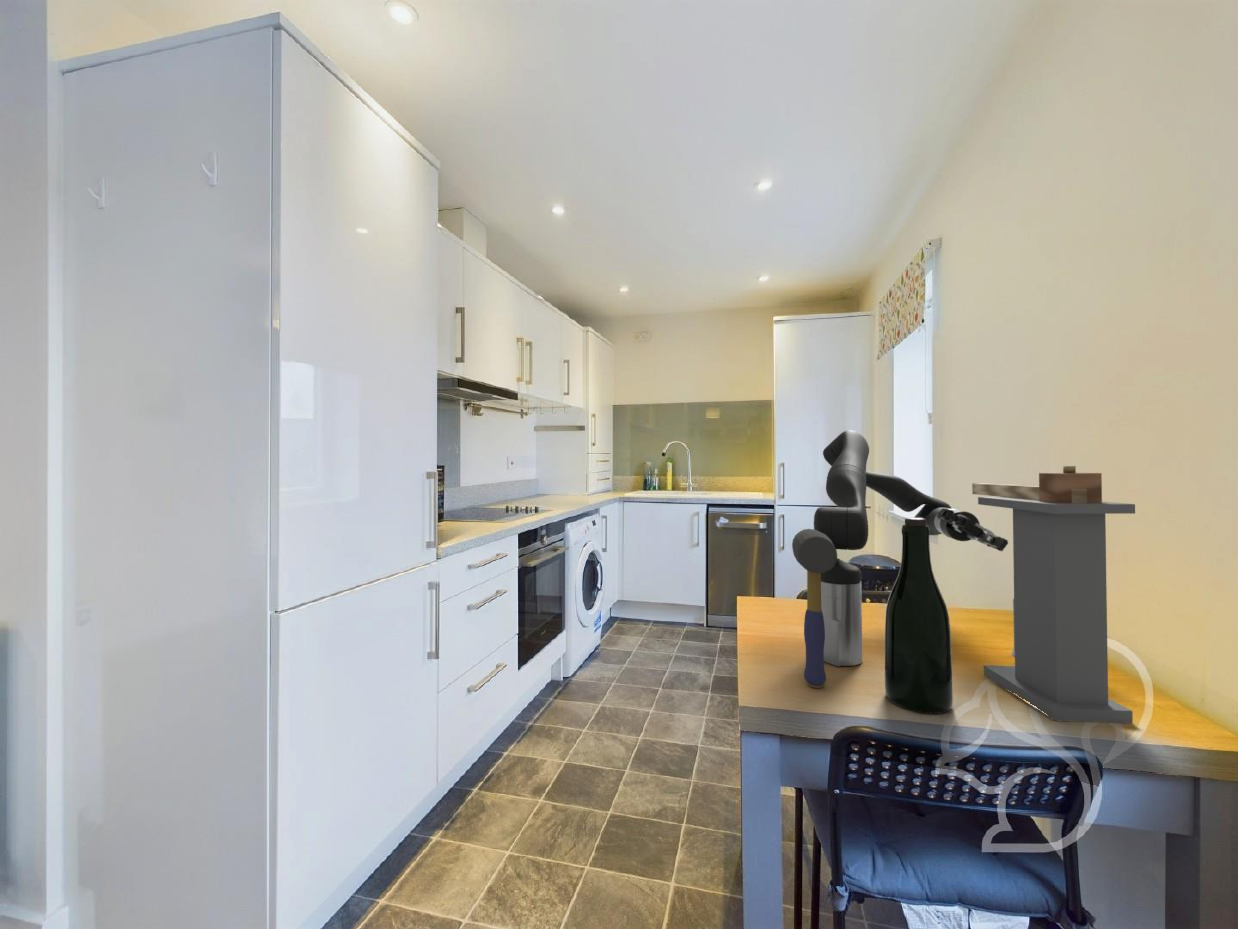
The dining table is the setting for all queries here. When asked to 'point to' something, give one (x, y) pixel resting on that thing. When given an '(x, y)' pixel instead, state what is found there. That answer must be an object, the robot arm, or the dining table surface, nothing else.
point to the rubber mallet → (814, 598)
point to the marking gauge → (1051, 488)
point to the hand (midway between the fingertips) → (985, 533)
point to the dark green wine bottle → (918, 630)
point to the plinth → (1060, 609)
